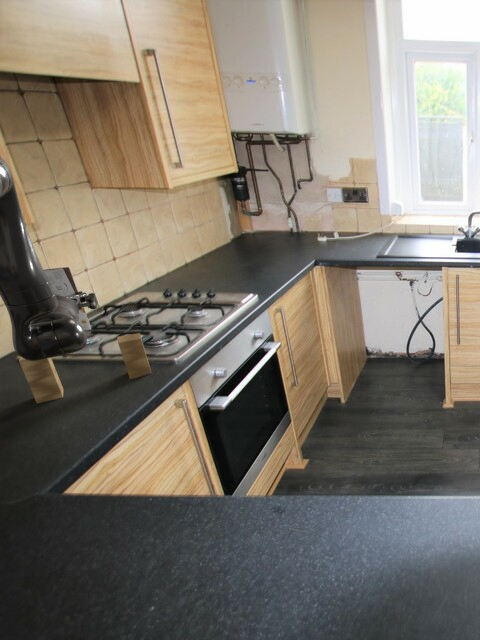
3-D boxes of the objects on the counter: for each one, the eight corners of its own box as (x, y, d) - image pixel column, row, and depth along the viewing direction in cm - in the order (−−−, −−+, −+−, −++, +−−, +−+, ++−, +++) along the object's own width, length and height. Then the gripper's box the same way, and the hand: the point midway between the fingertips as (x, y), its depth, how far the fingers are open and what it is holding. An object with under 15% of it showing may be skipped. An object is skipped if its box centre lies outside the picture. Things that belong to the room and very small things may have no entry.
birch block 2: (130, 382, 130) (117, 342, 125) (129, 375, 134) (117, 336, 129) (153, 377, 133) (141, 338, 128) (151, 371, 137) (139, 332, 132)
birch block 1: (36, 403, 119) (18, 360, 114) (38, 395, 122) (20, 353, 118) (63, 397, 122) (46, 355, 117) (63, 390, 125) (47, 349, 121)
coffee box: (93, 329, 120) (70, 266, 116) (63, 335, 114) (38, 269, 110) (73, 330, 123) (50, 269, 119) (42, 337, 118) (17, 273, 114)
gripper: (91, 294, 107) (91, 278, 119) (3, 306, 99) (12, 287, 110) (102, 325, 110) (101, 307, 122) (17, 338, 102) (24, 318, 113)
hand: (59, 298), depth 116 cm, fingers closed on coffee box, 8 cm apart
